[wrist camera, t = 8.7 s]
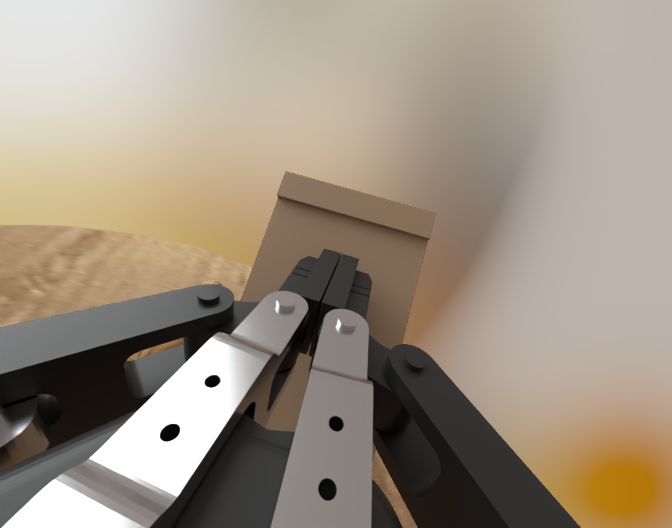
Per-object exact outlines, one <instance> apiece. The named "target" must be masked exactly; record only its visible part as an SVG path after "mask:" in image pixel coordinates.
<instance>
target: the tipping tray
mask: <svg viewBox="0 0 672 528" xmlns="http://www.w3.org/2000/svg"><path fill="white" fill-rule="evenodd" d="M277 196H278V200H277V203H276V206H275V208H274V211H273V213H272V216H271V219H270V222H269V225H268V227H267V230H266V233H265V235H264V238H263V241H262V244H261V246H260V249H259V252H258V254H257V257H256V260H255V262H254V265H253V268H252V271H251V273H250V276H249V279H248V281H247V284H246V287H245V290H244V292H243V295H242V298H241V300H240V301H244V302H260V301H262V300H263V299H264V298H265V297H266V296H267V295H268V294H270V293H273V292H276V291H278V290H279V289H280V287H281V286H282V284H283V283H284V282H285V280H286V279H287V277H288V276H289V275H290V273H291V272H292V270H293V269H294V268H295V266H296V265H297V263H298V262H299V261H300V260H301V259H303V258H305V257H307V256H311V257H314V258H319V257H320V255H321V253H322V251H323V250H324V248H325V249H328V250H332V251H335V252H338V253H341V256H342V254H345V255H348V256H352V257H355V258H358V259H359V262H358V265H357V269H356V270H357V271H360V272H364V273H367V274H369V276H370V278H371V280H372V287H371V293H370V298H369V304H368V310H367V315H366V322H367V324H368V327H369V334H370V335H371V337H372V338H373V339H374V340H376V341H377V342H378V343H380V344H381V345H383V346H385V347H386V348H388V349H390V350H391V349H392V348H393V347H394V346H396V345H400V344H402V343H403V338H404V335H405V331H406V327H407V323H408V319H409V314H410V311H411V306H412V303H413V299H414V294H415V290H416V287H417V283H418V278H419V275H420V270H421V267H422V263H423V259H424V255H425V251H426V247H427V243H428V240H429V239H430V237H431V233H432V229H433V225H434V221H435V217H436V213H433V212H430V211H426V210H423V209H419V208H416V207H412V206H409V205H405V204H401V203H398V202H394V201H391V200H387V199H384V198H380V197H376V196H373V195H369V194H365V193H362V192H358V191H354V190H351V189H347V188H344V187H340V186H337V185H333V184H330V183H326V182H323V181H319V180H315V179H312V178H308V177H305V176H301V175H297V174H294V173H290V172H287V171H286V172H285V175H284V177H283V180H282V182H281V185H280V188H279V190H278V193H277ZM340 259H341V258H340ZM310 347H311V345H310ZM309 351H310V348H309V350H308V353H307V355H306V354H303V353H299V356H298V358H297V361H296V365H295V369H294V372H293V374H292V376H291V378H290V380H289V382H288V384H287V386H286V388H285V390H284V391H283V393H282V395H281V397H280V399H279V401H278V403H277V405H276V407H275V408H274V410H273V412H272V414H271V416H270V418H269V420H268V422H267V424H266V427H265V428H266V429H268V430H276V431H290V432H295V428H296V424H297V420H298V416H299V413H300V409H301V405H302V401H303V397H304V393H305V389H306V386H307V382H308V378H309V366H310V362H311V359H312V357H311V356H308V355H309ZM375 450H376V448H375V446H374V444H373V443H372V462H373V458H374V454H375Z"/></svg>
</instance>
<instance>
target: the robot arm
mask: <svg viewBox="0 0 672 528" xmlns="http://www.w3.org/2000/svg"><path fill="white" fill-rule="evenodd" d="M340 258H341V259H340ZM358 262H359V259H358V258H355V257H352V256H348V255H345V254H342V256H341V253H338V252H335V251H332V250H328V249H325V248H324V250H323V251H322V253H321V255H320V257H319V258H314V257H311V256H307V257H305V258H303V259H301V260H300V261H299V262H298V263H297V265H296V266H295V268H294V269H293V270H292V272H291V273H290V275H289V276H288V277H287V279H286V280H285V282H284V283H283V284H282V286H281V287H280V289H279V290H278V291H276V292H273V293H270V294H268V295H267V296H266V297H265V298H264V299H263V300H262V301H260V302H244V301H234V295H233V293H232V292H231V291H230V290H229V289H228V288H226V287H224V286H221V285H216V284H204V285H198V286H193V287H189V288H184V289H179V290H175V291H170V292H165V293H160V294H156V295H151V296H146V297H141V298H137V299H132V300H127V301H123V302H118V303H113V304H108V305H104V306H99V307H94V308H89V309H85V310H80V311H75V312H71V313H66V314H61V315H56V316H52V317H47V318H42V319H37V320H33V321H28V322H23V323H19V324H14V325H9V326H4V327H0V528H402V526H401V523H400V521H399V519H398V517H397V515H396V513H395V511H394V509H393V507H392V506H391V504H390V502H389V501H388V499H387V497H386V496H385V494H384V493H383V491H382V490H381V489H380V487H379V486H378V485H377V484H376V483H375V481H374V480H373V479H372V443H373V444H374V446H375V448H376V450H377V452H378V453H379V455H380V457H381V459H382V461H383V463H384V465H385V467H386V468H387V470H388V472H389V474H390V476H391V478H392V480H393V482H394V484H395V485H396V487H397V489H398V491H399V493H400V495H401V497H402V499H403V500H404V502H405V504H406V506H407V508H408V510H409V512H410V514H411V515H412V517H413V519H414V521H415V523H416V525H417V527H418V528H580V526H579V525H578V524H577V523H576V522H575V521H574V520H573V518H572V517H571V516H570V515H569V514H568V513H567V511H565V509H564V508H563V507H562V506H561V505H560V503H559V502H558V501H557V500H556V499H555V498H554V497H553V496H552V494H551V493H550V492H549V491H548V490H547V489H546V488H545V486H544V485H543V484H542V483H541V482H540V481H539V480H538V479H537V477H536V476H535V475H534V474H533V473H532V472H531V470H530V469H529V468H528V467H527V466H526V465H525V464H524V463H523V461H522V460H521V459H520V458H519V457H518V456H517V455H516V454H515V452H514V451H513V450H512V449H511V448H510V447H509V445H508V444H507V443H506V442H505V441H504V440H503V439H502V437H501V436H500V435H499V434H498V433H497V432H496V431H495V429H494V428H493V427H492V426H491V425H490V424H489V423H488V422H487V420H486V419H485V418H484V417H483V416H482V415H481V413H480V412H479V411H478V410H477V409H476V408H475V407H474V406H473V404H472V403H471V402H470V401H469V400H468V399H467V398H466V396H465V395H464V394H463V393H462V392H461V391H460V390H459V388H458V387H457V386H456V385H455V384H454V383H453V382H452V380H451V379H450V378H449V377H448V376H447V375H446V374H445V373H444V371H443V370H442V369H441V368H440V367H439V366H438V364H437V363H436V362H435V361H434V360H433V359H432V358H431V357H430V356H429V355H428V354H427V353H426V352H424V351H423V350H421V349H420V348H417V347H415V346H412V345H407V344H400V345H396V346H394V347H393V348H392V349H391V350H390V349H388V348H386V347H385V346H383V345H381V344H380V343H378V342H377V341H376V340H374V339H373V338H372V337H371V335H370V334H369V327H368V324H367V322H366V315H367V310H368V304H369V298H370V293H371V287H372V280H371V278H370V276H369V274H367V273H364V272H360V271H357V270H356V269H357V265H358ZM180 338H183V341H184V344H183V345H180V346H177V347H174V348H171V349H168V350H165V351H162V352H159V353H156V354H153V355H150V356H147V357H144V358H141V359H137V360H134V361H126V360H127V359H128V358H129V357H130V356H131V355H133V354H135V353H137V352H139V351H142V350H145V349H149V348H152V347H155V346H158V345H161V344H164V343H168V342H171V341H174V340H177V339H180ZM310 345H311V347H310ZM309 348H310V351H309V355H308V356H311V357H312V359H311V362H310V366H309V378H308V382H307V386H306V389H305V393H304V397H303V401H302V405H301V409H300V413H299V416H298V420H297V424H296V428H295V432H290V431H276V430H268V429H266V428H265V427H266V424H267V422H268V420H269V418H270V416H271V414H272V412H273V410H274V408H275V407H276V405H277V403H278V401H279V399H280V397H281V395H282V393H283V391H284V390H285V388H286V386H287V384H288V382H289V380H290V378H291V376H292V374H293V372H294V369H295V365H296V361H297V358H298V356H299V353H303V354H306V355H307V353H308V350H309Z"/></svg>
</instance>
